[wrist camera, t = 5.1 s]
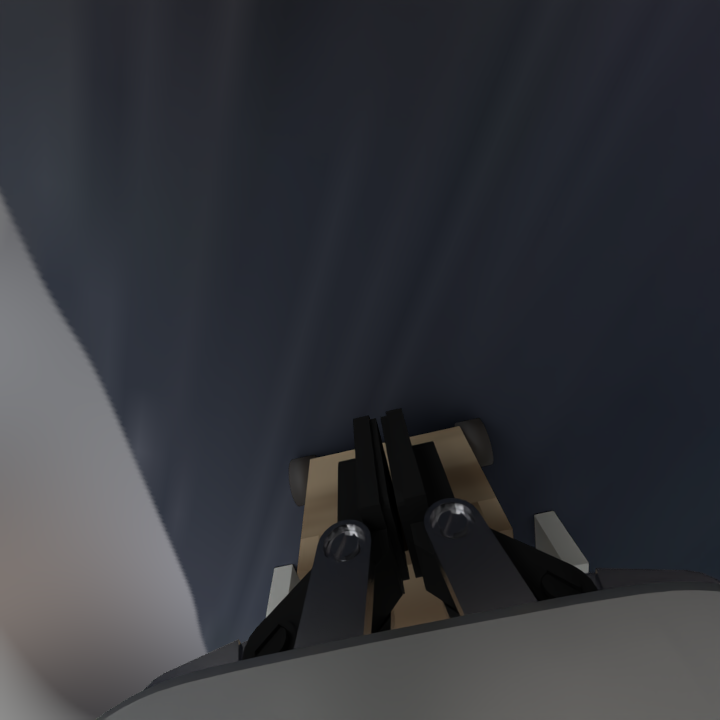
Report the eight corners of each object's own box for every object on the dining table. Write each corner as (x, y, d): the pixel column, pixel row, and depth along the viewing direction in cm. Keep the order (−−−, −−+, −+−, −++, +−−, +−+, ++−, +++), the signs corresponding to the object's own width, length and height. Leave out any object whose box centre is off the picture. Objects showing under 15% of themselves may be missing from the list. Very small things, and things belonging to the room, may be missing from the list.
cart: (290, 446, 17) (264, 580, 11) (473, 405, 16) (547, 521, 11) (345, 587, 21) (346, 740, 15) (493, 557, 20) (554, 702, 15)
